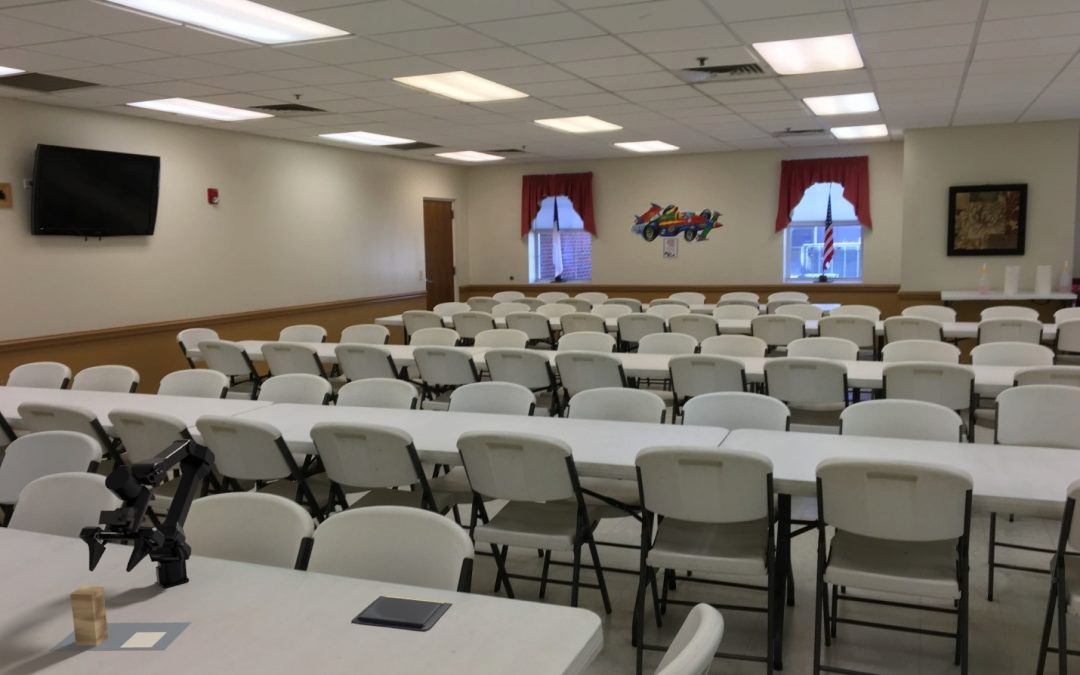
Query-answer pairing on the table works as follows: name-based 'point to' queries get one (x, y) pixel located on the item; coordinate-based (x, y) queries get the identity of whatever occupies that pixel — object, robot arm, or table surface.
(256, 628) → the table surface
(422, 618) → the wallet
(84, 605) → the wooden block
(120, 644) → the rubber mat
